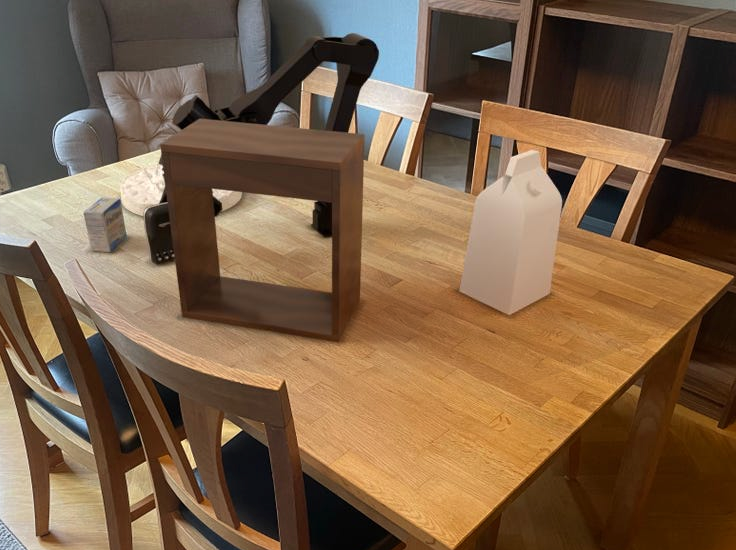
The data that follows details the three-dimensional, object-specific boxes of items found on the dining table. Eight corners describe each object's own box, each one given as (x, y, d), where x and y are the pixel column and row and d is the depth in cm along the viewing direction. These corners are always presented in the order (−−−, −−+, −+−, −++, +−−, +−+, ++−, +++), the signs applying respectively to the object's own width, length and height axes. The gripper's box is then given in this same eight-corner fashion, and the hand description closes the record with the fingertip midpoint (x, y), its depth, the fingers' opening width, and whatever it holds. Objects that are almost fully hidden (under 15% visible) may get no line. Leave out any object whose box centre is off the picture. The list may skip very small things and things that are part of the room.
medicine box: (110, 253, 149) (103, 213, 144) (90, 251, 150) (82, 211, 145) (127, 237, 156) (121, 198, 151) (107, 235, 156) (100, 196, 152)
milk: (500, 271, 144) (519, 138, 129) (549, 293, 136) (576, 155, 122) (459, 291, 137) (474, 153, 122) (509, 315, 130) (531, 171, 115)
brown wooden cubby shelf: (214, 280, 140) (199, 118, 123) (359, 302, 133) (364, 134, 116) (182, 316, 129) (159, 143, 112) (338, 342, 122) (340, 162, 105)
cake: (96, 208, 168) (89, 167, 163) (165, 169, 190) (160, 132, 184) (202, 228, 160) (198, 185, 154) (262, 185, 181) (260, 146, 176)
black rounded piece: (156, 268, 144) (148, 213, 137) (148, 261, 146) (140, 206, 140) (189, 259, 147) (182, 205, 141) (180, 252, 150) (174, 198, 143)
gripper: (166, 119, 142) (118, 183, 144) (200, 146, 129) (146, 217, 130) (208, 153, 150) (162, 214, 151) (244, 183, 136) (193, 249, 138)
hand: (165, 222), depth 142 cm, fingers open, 9 cm apart
